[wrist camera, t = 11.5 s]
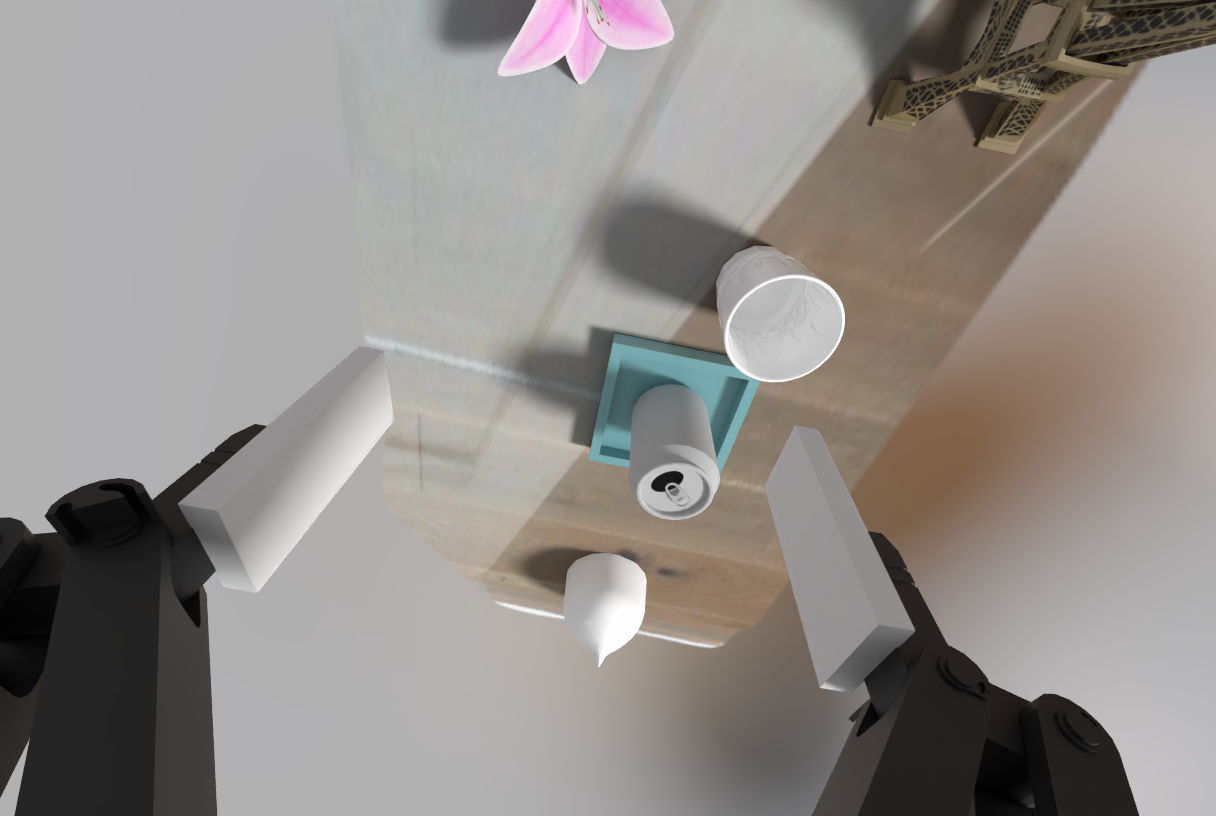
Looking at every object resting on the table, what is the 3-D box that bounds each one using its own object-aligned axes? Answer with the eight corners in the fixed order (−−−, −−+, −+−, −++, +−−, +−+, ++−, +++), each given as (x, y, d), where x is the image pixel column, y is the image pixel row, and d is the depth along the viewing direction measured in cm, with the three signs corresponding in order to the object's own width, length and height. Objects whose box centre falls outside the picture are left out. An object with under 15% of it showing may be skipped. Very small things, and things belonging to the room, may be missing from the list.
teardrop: (607, 612, 68) (601, 700, 58) (550, 576, 64) (532, 664, 54) (663, 581, 63) (666, 672, 53) (604, 540, 59) (595, 629, 49)
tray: (614, 333, 43) (613, 342, 41) (759, 362, 44) (763, 373, 42) (590, 447, 51) (588, 459, 49) (713, 471, 51) (715, 484, 49)
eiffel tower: (1125, -46, 27) (2658, -533, 6) (1011, 154, 33) (1625, 234, 12) (955, -82, 27) (1987, -716, 6) (869, 125, 33) (1254, 159, 12)
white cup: (722, 339, 43) (740, 395, 34) (696, 259, 39) (710, 301, 30) (810, 309, 40) (852, 362, 32) (792, 221, 37) (835, 255, 28)
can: (678, 365, 44) (687, 442, 34) (720, 417, 47) (740, 503, 37) (617, 405, 47) (608, 486, 37) (660, 452, 50) (663, 539, 40)
